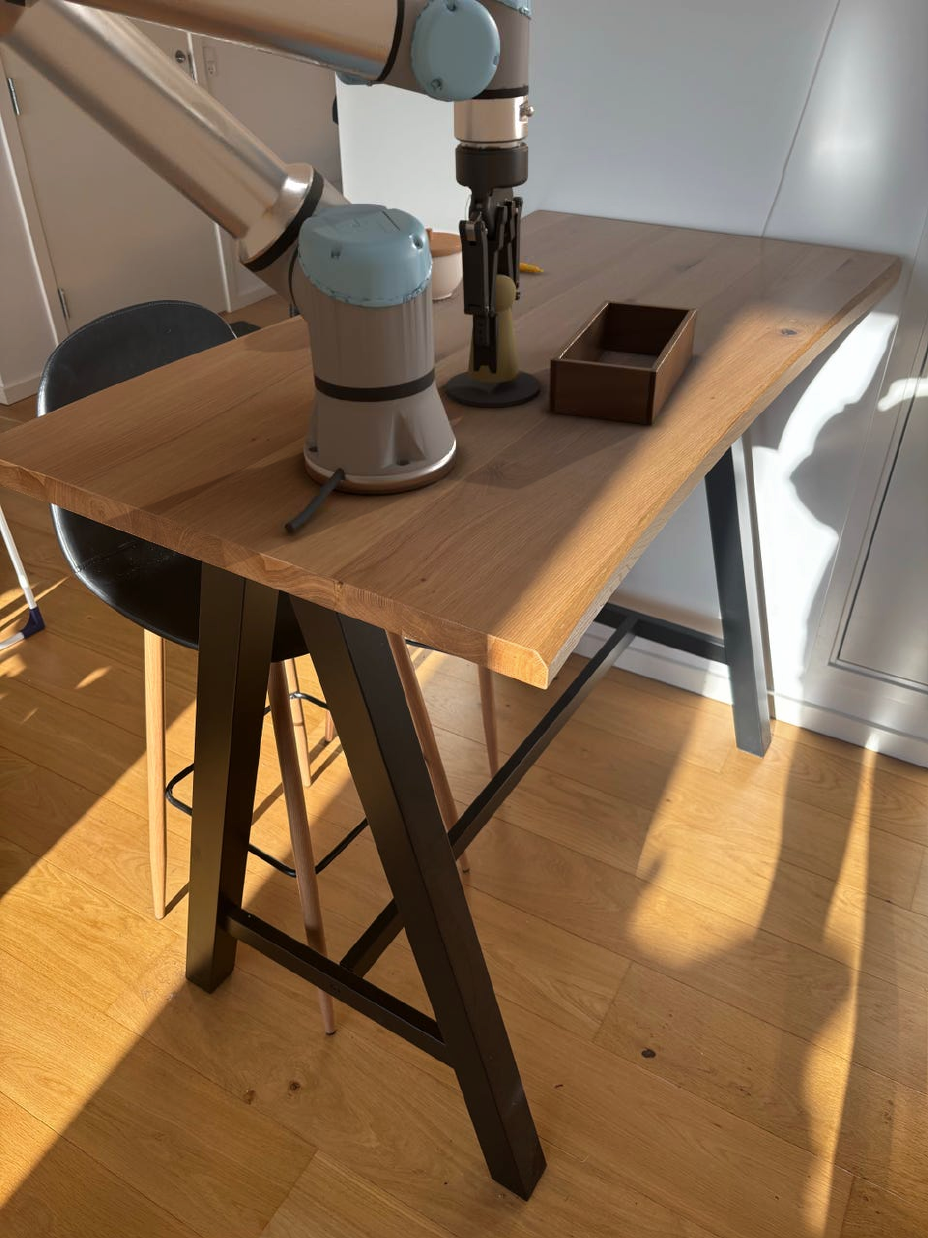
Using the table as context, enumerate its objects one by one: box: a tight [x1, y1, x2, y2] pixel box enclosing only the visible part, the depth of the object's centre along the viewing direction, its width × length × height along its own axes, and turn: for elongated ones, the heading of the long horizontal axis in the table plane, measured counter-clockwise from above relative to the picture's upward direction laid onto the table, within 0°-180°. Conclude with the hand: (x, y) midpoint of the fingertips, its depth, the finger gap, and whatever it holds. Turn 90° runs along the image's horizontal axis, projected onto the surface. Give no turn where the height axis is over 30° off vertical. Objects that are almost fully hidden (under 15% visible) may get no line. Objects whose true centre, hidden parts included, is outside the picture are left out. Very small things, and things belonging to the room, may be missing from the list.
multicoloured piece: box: [520, 262, 544, 274], centre depth 159 cm, size 3×1×16 cm
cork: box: [467, 274, 520, 383], centre depth 111 cm, size 6×6×11 cm
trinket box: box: [425, 227, 463, 301], centre depth 145 cm, size 11×11×9 cm
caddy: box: [548, 299, 698, 426], centre depth 114 cm, size 23×12×6 cm, turn 158°
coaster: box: [445, 370, 541, 408], centre depth 115 cm, size 11×11×1 cm
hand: (493, 363), depth 113 cm, fingers closed on cork, 4 cm apart
